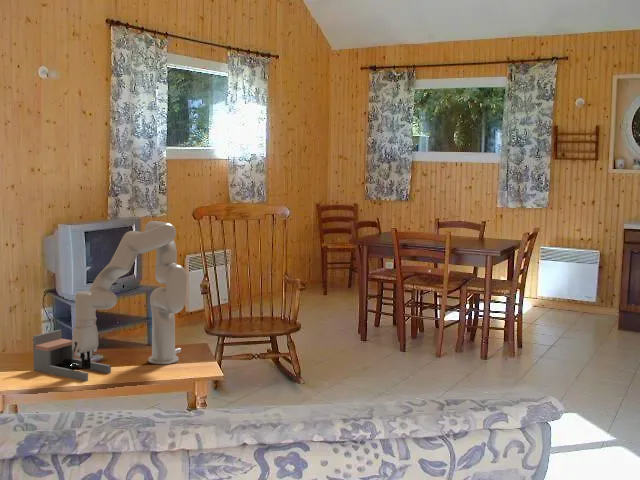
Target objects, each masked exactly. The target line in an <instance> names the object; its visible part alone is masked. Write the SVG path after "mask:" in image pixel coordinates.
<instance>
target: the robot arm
mask: <svg viewBox="0 0 640 480" xmlns="http://www.w3.org/2000/svg"><path fill="white" fill-rule="evenodd" d="M176 237H177V230H176V228H175V226H174V225H173V224H171V223H170V222H164V221H159V220H151V221H148V222H147V223H145V226H144V231H137V230H130V231H127V232H126V233H124V234H123V236H122V237H121V240H120V242H119V244H118V246H117V248H116V250H115V253H114V254H113V255H112V257H111V260H110V262H108V264H107V265H106V266H104V268H103V269H102V270H101V271H100V272H99V273H98V275H97V276H96V277H95V279H94V280H93V283H92V284H91V286H90V288H89V290H87V291H86V290H84V291H78V292H76V294H75V295H74V296H75V304H74V305H75V306H74V307H75V308H74V309H75V327H74V328H73V331H72V339H71V340H72V351H73V352H74V357H79V358H80V360H82V368H81V369H83V370H89V369H90V368H91V362H92V361H91V359H92V357H93V355H94V353H95V352H97V351H98V348H99V333H98V327H97V326H98V325H97V324H96V323H97V317H96V315H97V314H96V310H110V309H112V308H114V307H115V306H116V305H117V302H118V298H117V297H118V296H117V295H116V294H115V293H114V292H113V291H111V290H110V289H111V286H112V285H113V284H114V283H115V281H116V280H118V279H119V278H121V277H123V276H125V275H127V274H128V273H129V272H130V271H131V269H132V267H133V265H134V264H135V261H136V259H137V257H138V255H139V254H147V253H150V252H152V251H154V250H155V254H156V255H155V266H154V267H155V268H154V278H155V280H156V281H157V282H158V283H160V284H162V285H164V287H163V286H160V287H156V288H155V289H153V291H151V294H150V299H149V304H150V309H151V356H149V357H148V359H147V360H148V361H147V362H148V363H151V364H154V365H155V364H156V365H170V364H171V365H172V364H174V363H177V362H178V361H179V356H177V354H179V353H181V352H182V348H181V347H177V348H176V317H175V315H176V314H178V313H180V312H182V310H183V309H184V307H185V306H186V305H185V304H186V300H187V289H188V288H187V287H188V275H187V274H188V273H187V271H186V269H185V268H184V267H183V266H182V265H180V264H178V263H177V259H178V258H177V257H178V256H177V254H178V253H177V252H178V251H177V244H176V242H175V238H176Z"/></svg>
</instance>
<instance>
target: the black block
mask: <svg viewBox="0 0 640 480" xmlns="http://www.w3.org/2000/svg"><path fill="white" fill-rule="evenodd" d="M71 364H72V361H71V359H64V360H63V364H62V366H61V367H62V368H66V369H71V370H75V369H76V367H74V366H70V365H71Z"/></svg>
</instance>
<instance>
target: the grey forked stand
mask: <svg viewBox="0 0 640 480" xmlns="http://www.w3.org/2000/svg"><path fill="white" fill-rule="evenodd" d="M62 332H63V331H62V329H57V330H53V331H49V332H45V333H41V334H37V335H32V337H33V338H32V339H33V340H32V342H33V343H32V344H33V347H32V348H33V371H36V372H40V373H41V372H42V373H44V374H45V373H46V374H50V375H56V376H60V377H63V378H67V379H73V380H79V381H83V382H88V381H89V372H86V371H85V372H84V371H79V370H75V369H74V370H71V369H66V368H62V367H63V366H61V367H60V366H57V365H59V364H61V365H63V360H64V359H71V361H72V363H77V364H79V365H76V364H72V366H74V367H75V368H81V369H83V368H82V359H81V358H80V359H78V358H75V352H73V351H72V339H67V338H62V337H63V333H62ZM88 370H90V371H95V372H100V373H105V374H111V373H112V366H111V364H106V363H105V364H104V363H100V362H94V361H91V368H90V369H88Z"/></svg>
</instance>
